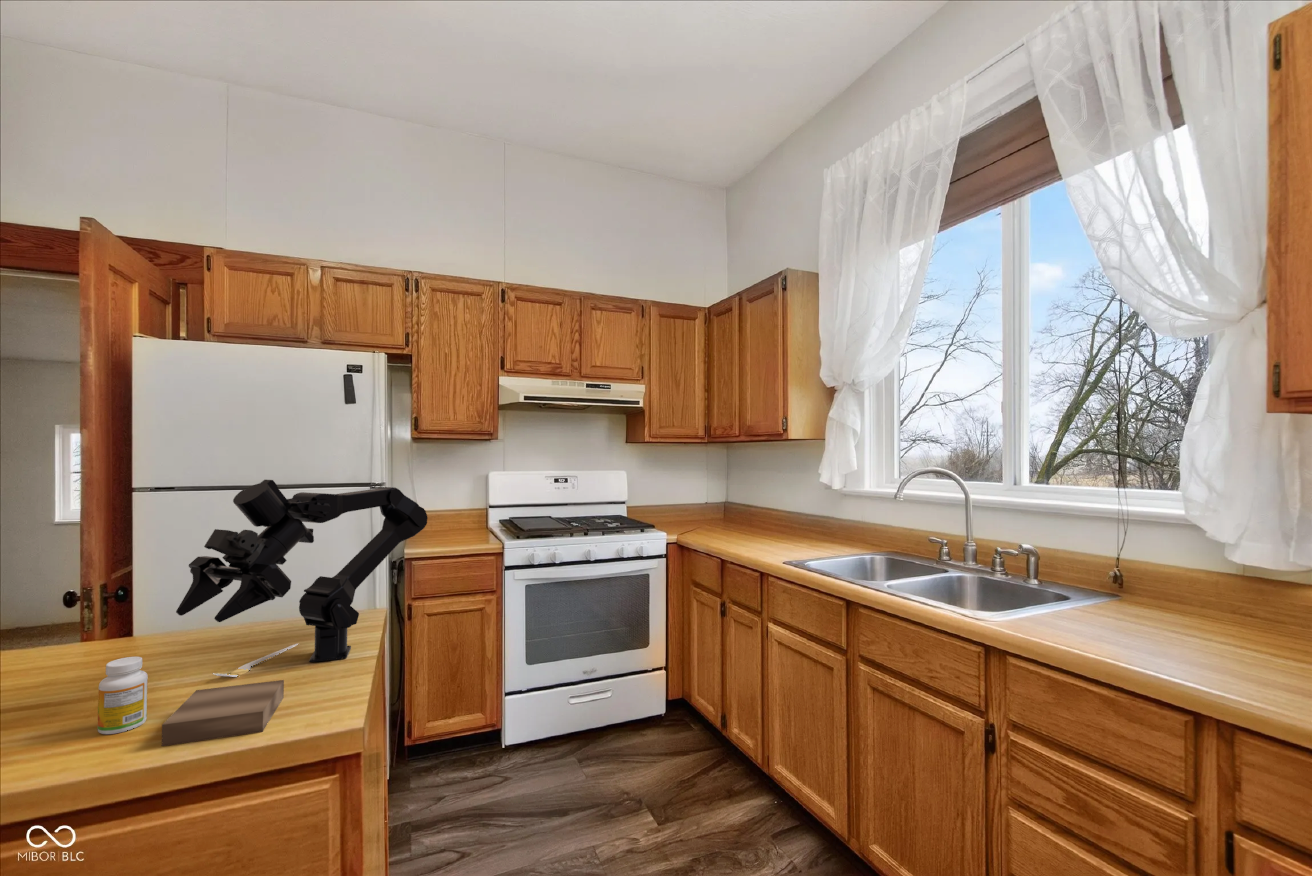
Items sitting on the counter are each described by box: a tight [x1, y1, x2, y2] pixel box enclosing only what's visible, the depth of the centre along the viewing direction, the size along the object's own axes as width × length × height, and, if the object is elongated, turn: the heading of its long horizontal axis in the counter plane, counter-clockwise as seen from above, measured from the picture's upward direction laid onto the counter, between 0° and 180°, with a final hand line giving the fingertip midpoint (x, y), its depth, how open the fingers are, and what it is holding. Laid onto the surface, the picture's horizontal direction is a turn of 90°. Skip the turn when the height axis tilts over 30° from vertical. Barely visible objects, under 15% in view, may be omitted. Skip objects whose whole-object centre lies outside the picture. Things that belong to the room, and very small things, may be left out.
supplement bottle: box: [97, 656, 149, 735], centre depth 85 cm, size 5×5×10 cm
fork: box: [212, 643, 299, 678], centre depth 110 cm, size 3×20×2 cm, turn 175°
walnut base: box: [161, 679, 285, 747], centre depth 87 cm, size 12×12×3 cm
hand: (197, 617), depth 91 cm, fingers open, 9 cm apart
